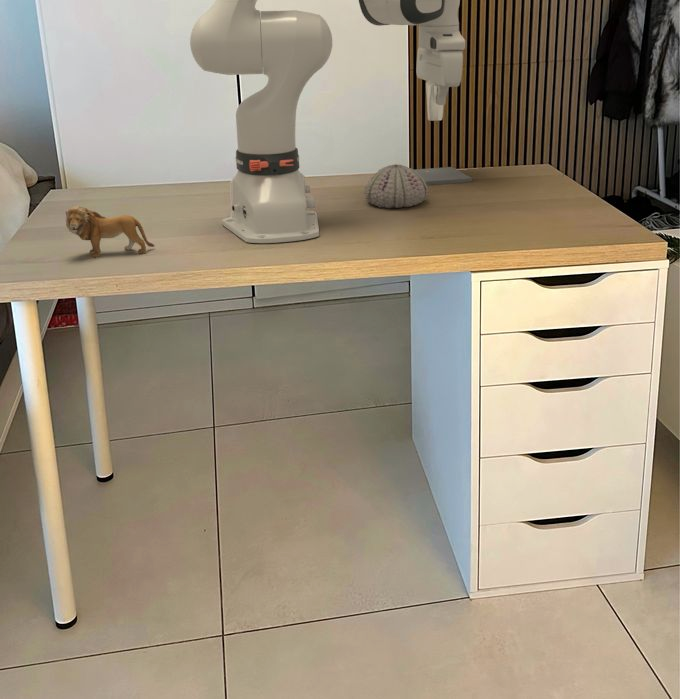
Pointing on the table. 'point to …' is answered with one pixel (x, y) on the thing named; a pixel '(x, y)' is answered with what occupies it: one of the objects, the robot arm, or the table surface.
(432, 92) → the milkshake
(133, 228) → the lion figurine
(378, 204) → the sea urchin shell
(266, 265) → the table surface
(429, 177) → the pad
